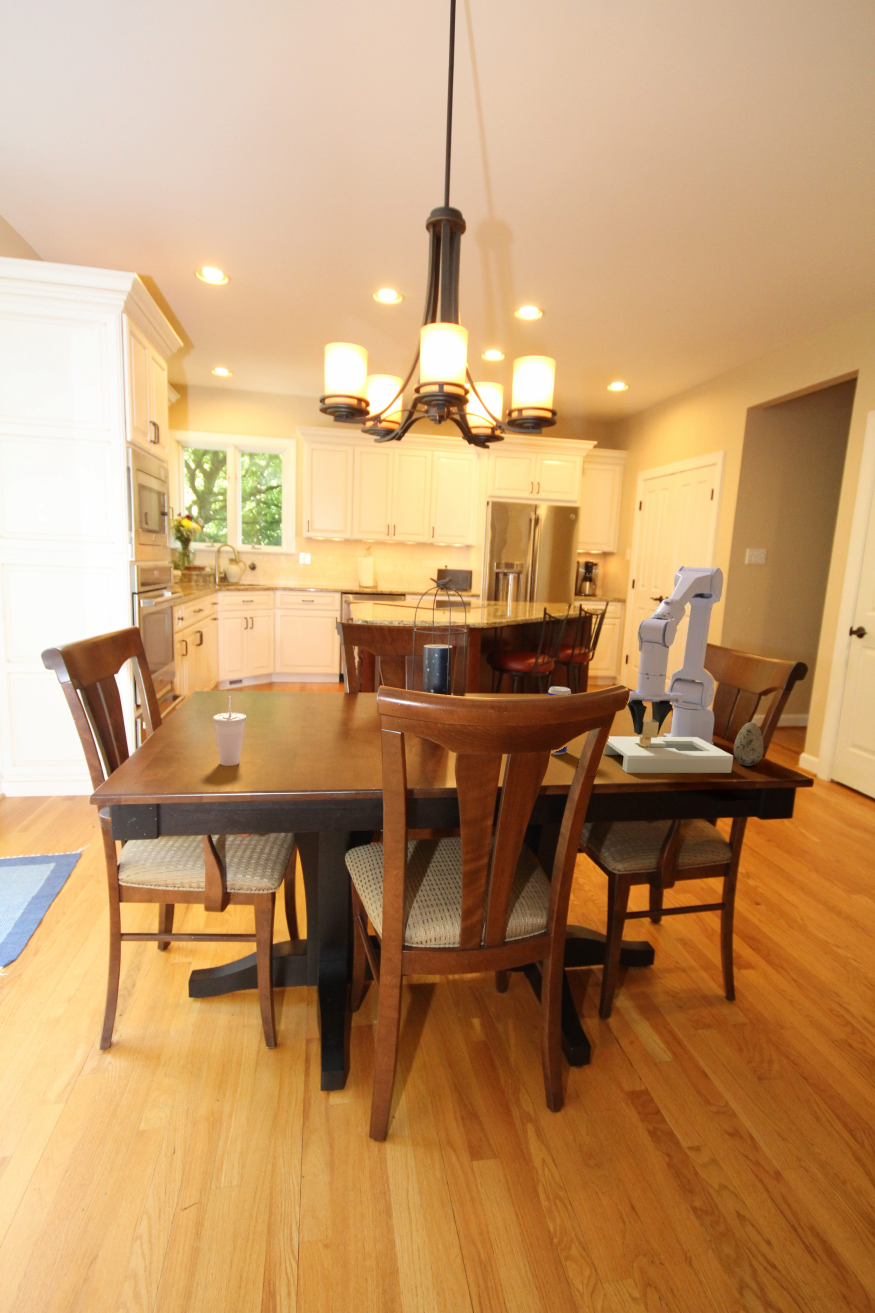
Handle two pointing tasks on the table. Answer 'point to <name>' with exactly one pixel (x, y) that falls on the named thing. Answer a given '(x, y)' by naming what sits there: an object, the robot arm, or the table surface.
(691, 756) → the keyhole plate
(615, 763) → the table surface
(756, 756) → the decorative egg
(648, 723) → the keyhole peg
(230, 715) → the smoothie
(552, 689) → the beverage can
